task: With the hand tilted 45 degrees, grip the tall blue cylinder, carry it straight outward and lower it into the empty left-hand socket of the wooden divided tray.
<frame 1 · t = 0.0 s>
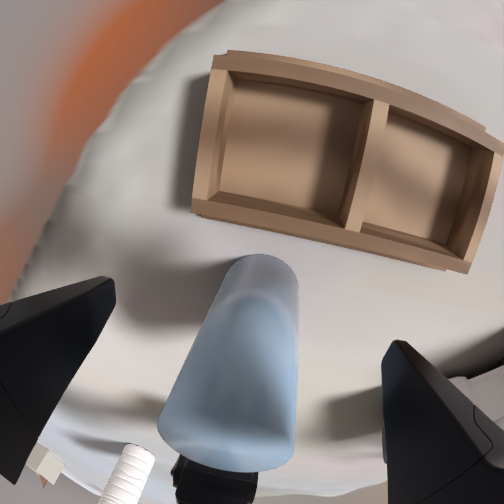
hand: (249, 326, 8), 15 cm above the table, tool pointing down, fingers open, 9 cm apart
electronic device: (468, 383, 27), on the table
wooden divided tray: (355, 160, 19), on the table
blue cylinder: (260, 288, 25), on the table
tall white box: (51, 452, 69), on the table
water bottle: (144, 451, 43), on the table
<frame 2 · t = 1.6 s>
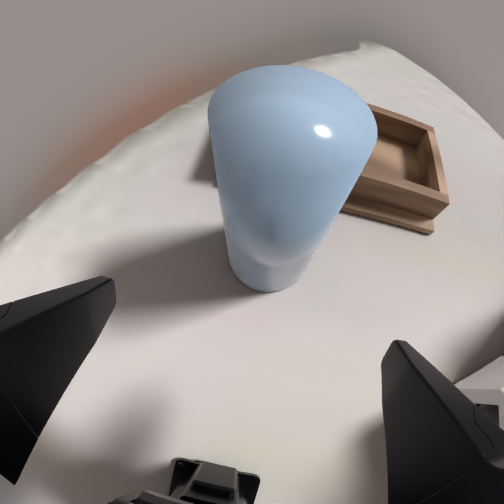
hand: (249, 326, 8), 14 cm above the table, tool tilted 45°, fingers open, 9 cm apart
wooden divided tray: (337, 156, 28), on the table
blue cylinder: (268, 253, 24), on the table
when the fingers open (10 cm above the table, at t = 9.1 s): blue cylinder drops 1 cm, resting on wooden divided tray.
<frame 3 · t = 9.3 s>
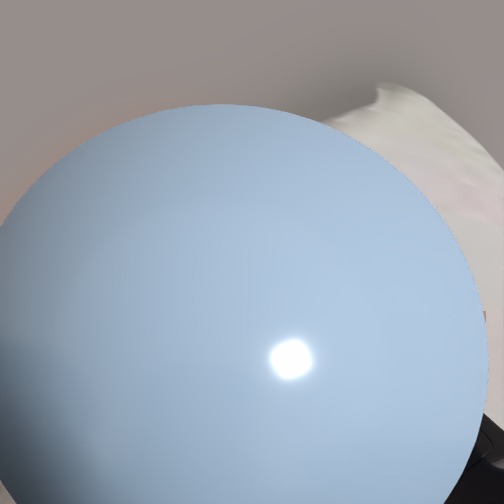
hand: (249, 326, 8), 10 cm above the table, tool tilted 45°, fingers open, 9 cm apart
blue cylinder: (242, 368, 16), point 1 cm above the table, touching wooden divided tray
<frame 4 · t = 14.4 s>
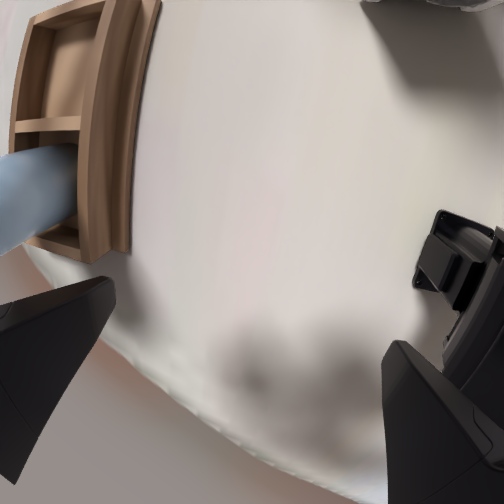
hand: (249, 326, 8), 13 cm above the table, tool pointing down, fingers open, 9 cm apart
wooden divided tray: (75, 122, 19), on the table
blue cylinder: (67, 179, 20), point 1 cm above the table, touching wooden divided tray
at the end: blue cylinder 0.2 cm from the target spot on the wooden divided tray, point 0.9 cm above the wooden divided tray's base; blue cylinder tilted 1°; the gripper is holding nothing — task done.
